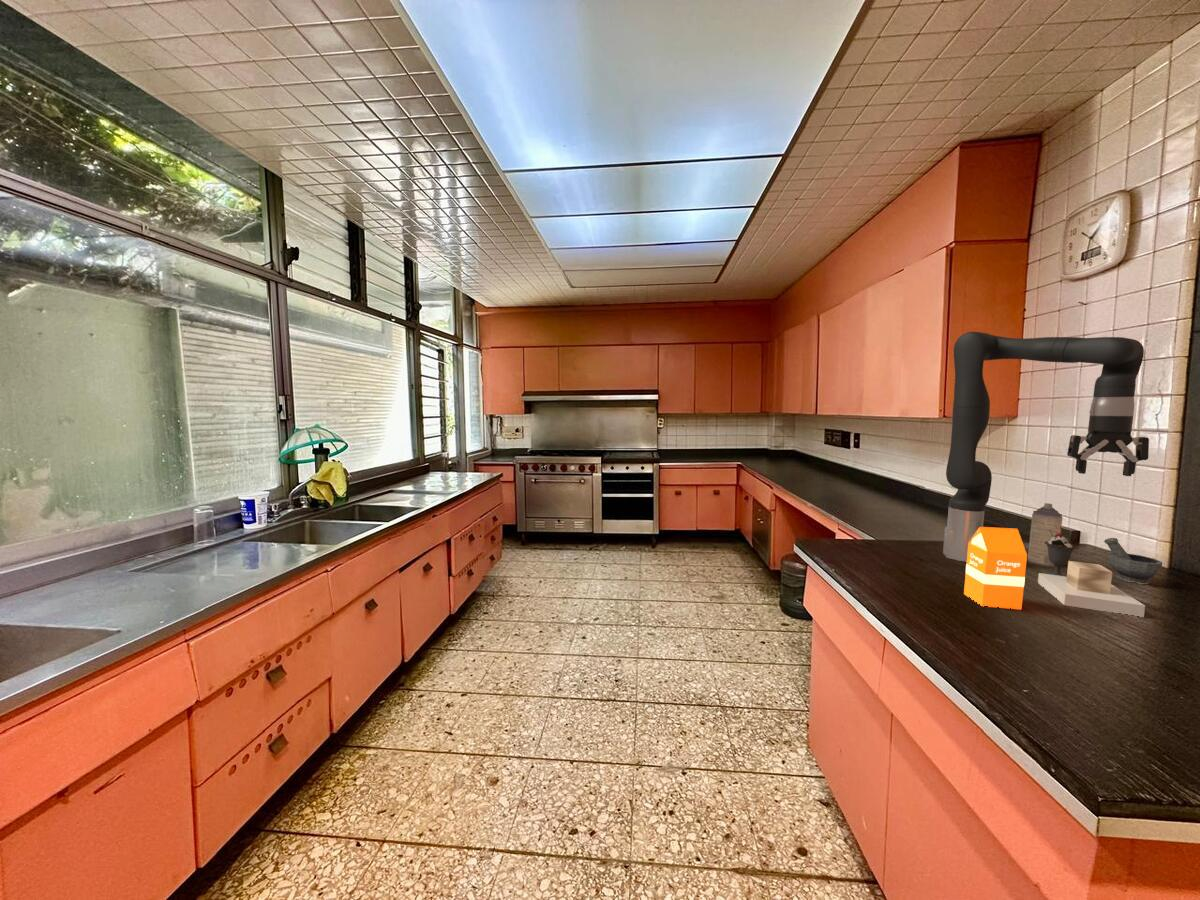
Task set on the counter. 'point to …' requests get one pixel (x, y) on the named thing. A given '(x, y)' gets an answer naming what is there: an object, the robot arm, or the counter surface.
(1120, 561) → the mortar and pestle
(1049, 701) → the counter surface
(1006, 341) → the robot arm
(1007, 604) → the orange juice
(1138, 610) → the cream board
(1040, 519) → the aerosol can
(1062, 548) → the sundae
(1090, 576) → the birch block
